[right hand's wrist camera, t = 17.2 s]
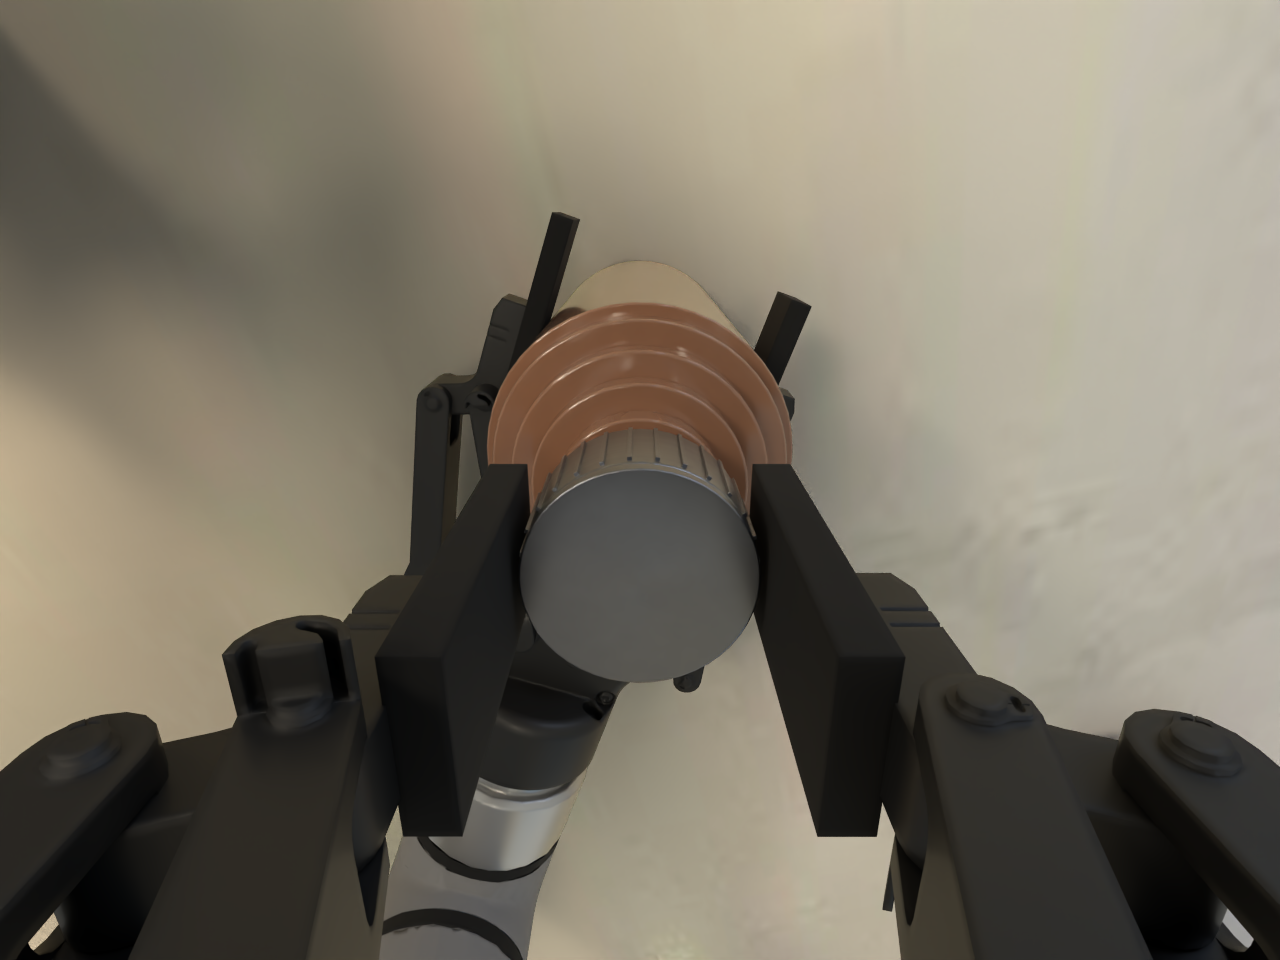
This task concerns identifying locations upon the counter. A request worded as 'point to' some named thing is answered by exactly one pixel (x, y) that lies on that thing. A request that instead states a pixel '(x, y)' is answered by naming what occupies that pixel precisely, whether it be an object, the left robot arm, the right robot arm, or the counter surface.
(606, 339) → the tan bottle
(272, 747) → the right robot arm
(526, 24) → the counter surface
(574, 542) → the cap
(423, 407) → the left robot arm
